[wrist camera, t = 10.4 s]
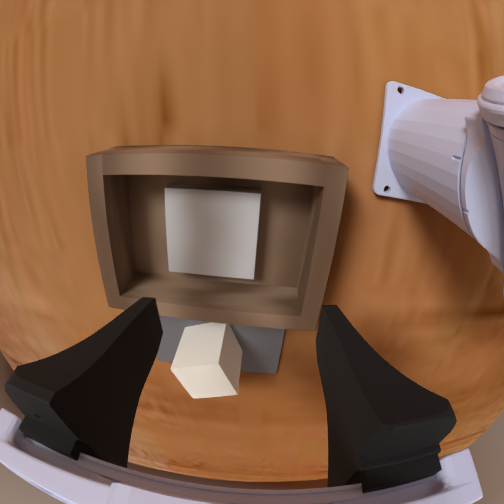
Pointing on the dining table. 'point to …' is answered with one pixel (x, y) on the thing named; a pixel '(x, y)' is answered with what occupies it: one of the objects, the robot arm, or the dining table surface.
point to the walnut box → (217, 231)
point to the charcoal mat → (249, 338)
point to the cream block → (208, 360)
